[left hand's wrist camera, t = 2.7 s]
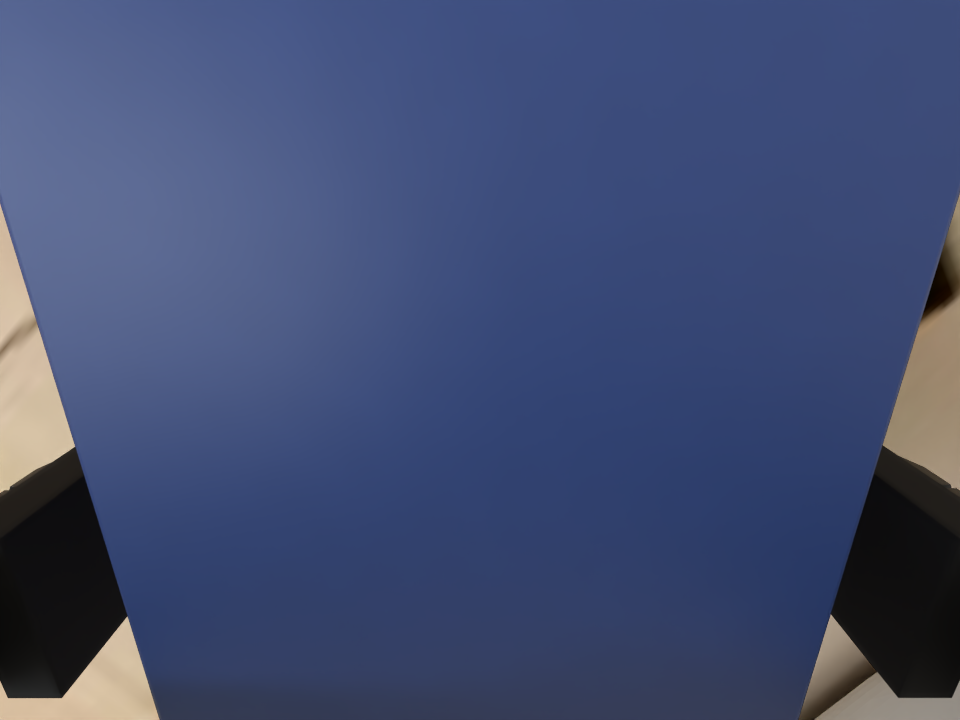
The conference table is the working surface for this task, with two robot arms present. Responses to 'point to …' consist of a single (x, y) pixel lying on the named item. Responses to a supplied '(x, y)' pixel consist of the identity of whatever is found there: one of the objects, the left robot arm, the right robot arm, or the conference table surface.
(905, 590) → the left robot arm
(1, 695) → the conference table surface
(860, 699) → the projector
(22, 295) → the conference table surface
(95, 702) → the conference table surface
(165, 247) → the box
